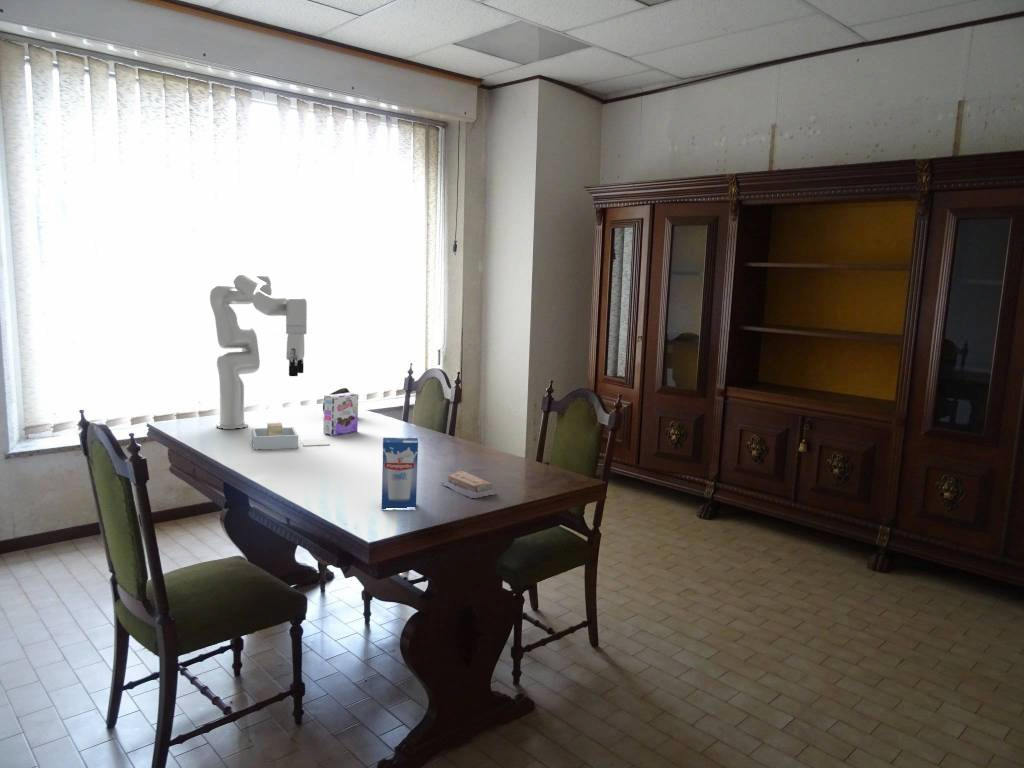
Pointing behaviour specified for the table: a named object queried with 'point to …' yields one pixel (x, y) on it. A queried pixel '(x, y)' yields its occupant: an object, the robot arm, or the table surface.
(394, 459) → the milk carton
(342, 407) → the candy box
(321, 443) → the mat
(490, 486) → the packaged product
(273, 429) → the birch block
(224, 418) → the robot arm
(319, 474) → the table surface
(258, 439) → the square storage bin
